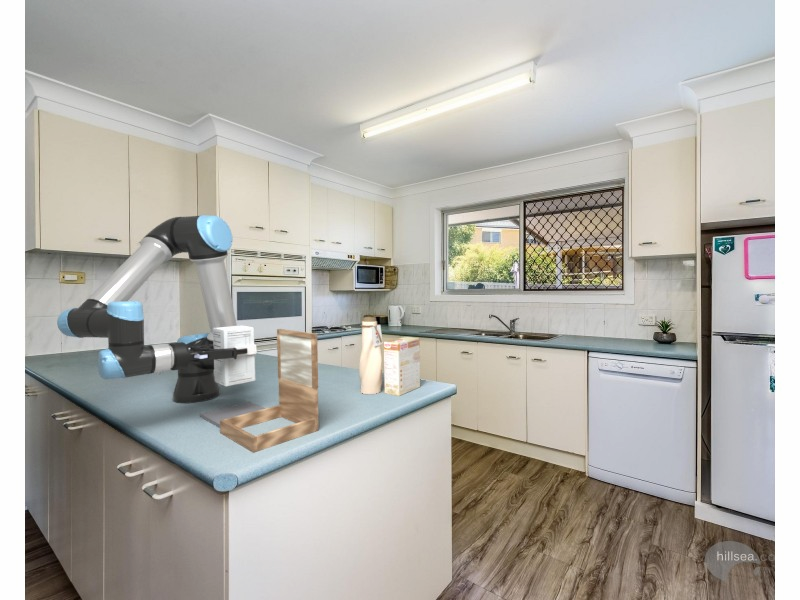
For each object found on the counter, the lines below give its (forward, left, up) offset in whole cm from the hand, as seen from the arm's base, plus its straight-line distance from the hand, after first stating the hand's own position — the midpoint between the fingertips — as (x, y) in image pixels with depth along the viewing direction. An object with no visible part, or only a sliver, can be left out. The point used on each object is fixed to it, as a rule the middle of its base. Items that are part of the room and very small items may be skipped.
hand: (248, 347), depth 123 cm
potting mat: (-2, -3, -21) cm, 21 cm away
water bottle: (+33, +29, -21) cm, 48 cm away
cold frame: (+15, -14, -21) cm, 29 cm away
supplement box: (-2, -4, -10) cm, 11 cm away
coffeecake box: (+44, +33, -21) cm, 59 cm away
